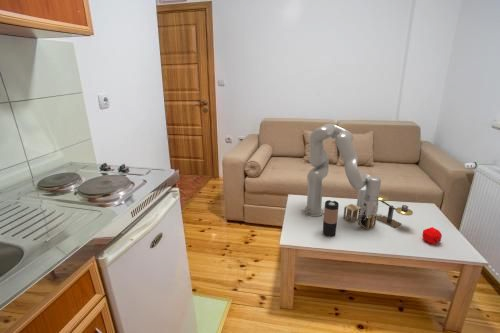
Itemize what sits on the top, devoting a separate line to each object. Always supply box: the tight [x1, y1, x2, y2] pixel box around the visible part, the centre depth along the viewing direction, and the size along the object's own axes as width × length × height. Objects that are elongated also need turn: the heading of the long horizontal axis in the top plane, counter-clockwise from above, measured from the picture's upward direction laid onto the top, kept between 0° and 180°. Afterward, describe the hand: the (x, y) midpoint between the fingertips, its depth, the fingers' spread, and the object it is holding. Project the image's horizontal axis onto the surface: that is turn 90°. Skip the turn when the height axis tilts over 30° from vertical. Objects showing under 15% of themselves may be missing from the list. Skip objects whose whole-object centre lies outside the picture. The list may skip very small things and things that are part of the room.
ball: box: [421, 226, 443, 245], centre depth 158 cm, size 8×8×8 cm
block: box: [363, 217, 374, 230], centre depth 173 cm, size 4×4×5 cm
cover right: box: [357, 212, 378, 230], centre depth 173 cm, size 7×7×8 cm
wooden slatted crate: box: [343, 203, 361, 223], centre depth 182 cm, size 7×7×8 cm
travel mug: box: [322, 200, 340, 238], centre depth 164 cm, size 8×8×20 cm
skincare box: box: [356, 185, 366, 209], centre depth 195 cm, size 8×7×16 cm
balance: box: [376, 193, 414, 229], centre depth 177 cm, size 9×25×15 cm, turn 33°
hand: (366, 222), depth 173 cm, fingers closed on cover right, 7 cm apart
